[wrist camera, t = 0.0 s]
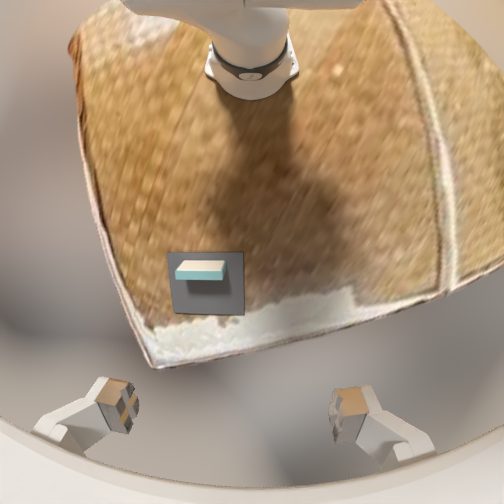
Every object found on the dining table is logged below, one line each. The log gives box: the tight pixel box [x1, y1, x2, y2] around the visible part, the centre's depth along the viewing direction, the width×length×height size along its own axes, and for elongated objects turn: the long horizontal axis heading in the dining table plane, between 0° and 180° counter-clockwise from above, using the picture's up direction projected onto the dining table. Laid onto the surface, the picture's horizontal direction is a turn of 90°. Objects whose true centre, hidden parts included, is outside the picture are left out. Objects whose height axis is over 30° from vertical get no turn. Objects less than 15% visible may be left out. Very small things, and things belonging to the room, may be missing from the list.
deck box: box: [175, 260, 226, 280], centre depth 55 cm, size 2×9×6 cm, turn 90°
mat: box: [167, 252, 244, 315], centre depth 60 cm, size 14×16×1 cm
